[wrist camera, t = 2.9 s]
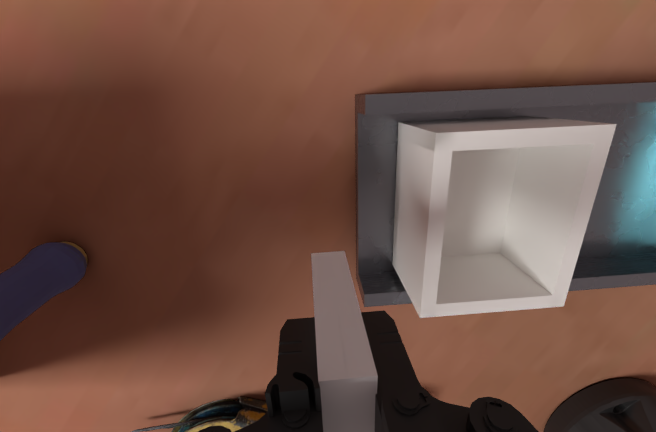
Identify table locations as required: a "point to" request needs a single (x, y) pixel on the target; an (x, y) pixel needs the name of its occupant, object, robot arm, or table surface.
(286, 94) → the table surface
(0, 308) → the rubber mallet
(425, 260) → the crate
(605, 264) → the bay
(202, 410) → the pulley block
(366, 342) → the robot arm
